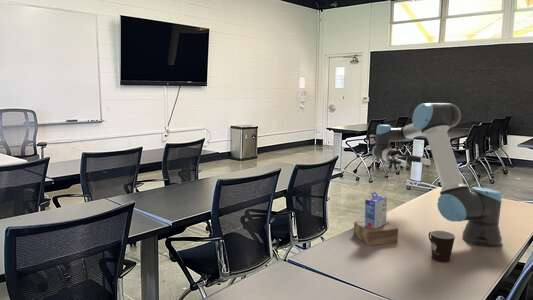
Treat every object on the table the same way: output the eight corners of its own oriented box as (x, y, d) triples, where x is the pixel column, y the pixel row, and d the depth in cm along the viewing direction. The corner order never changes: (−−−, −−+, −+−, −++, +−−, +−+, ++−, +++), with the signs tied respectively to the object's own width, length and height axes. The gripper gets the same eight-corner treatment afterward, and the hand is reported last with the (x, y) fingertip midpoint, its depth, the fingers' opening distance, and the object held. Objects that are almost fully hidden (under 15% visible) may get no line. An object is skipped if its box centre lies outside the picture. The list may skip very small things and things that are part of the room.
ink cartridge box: (375, 221, 180) (377, 190, 178) (386, 224, 176) (388, 192, 174) (363, 226, 173) (365, 194, 171) (374, 229, 169) (376, 196, 167)
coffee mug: (455, 264, 150) (457, 239, 148) (431, 262, 151) (433, 237, 150) (447, 252, 161) (449, 228, 159) (425, 250, 163) (427, 227, 161)
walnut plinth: (397, 242, 171) (398, 228, 170) (368, 245, 168) (369, 231, 167) (380, 231, 184) (381, 219, 183) (353, 234, 180) (354, 221, 179)
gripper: (412, 161, 214) (439, 169, 194) (371, 164, 208) (394, 172, 188) (413, 148, 213) (440, 154, 193) (371, 149, 206) (395, 156, 186)
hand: (418, 163), depth 190 cm, fingers open, 13 cm apart
